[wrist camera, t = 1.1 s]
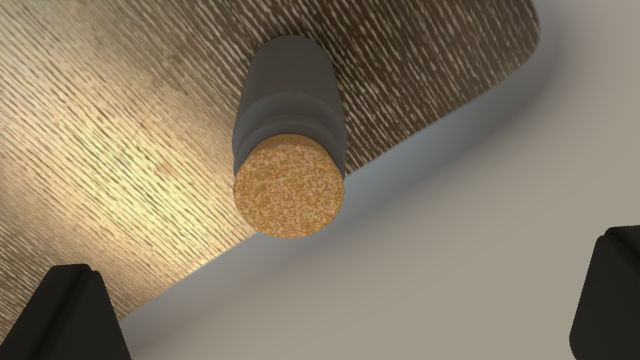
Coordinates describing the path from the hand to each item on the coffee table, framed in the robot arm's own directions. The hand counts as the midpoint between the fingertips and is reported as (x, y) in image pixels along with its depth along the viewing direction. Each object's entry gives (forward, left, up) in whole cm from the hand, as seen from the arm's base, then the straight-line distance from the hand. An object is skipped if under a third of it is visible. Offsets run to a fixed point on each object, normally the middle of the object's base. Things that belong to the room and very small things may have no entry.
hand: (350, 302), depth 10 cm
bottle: (0, +5, -26) cm, 27 cm away
